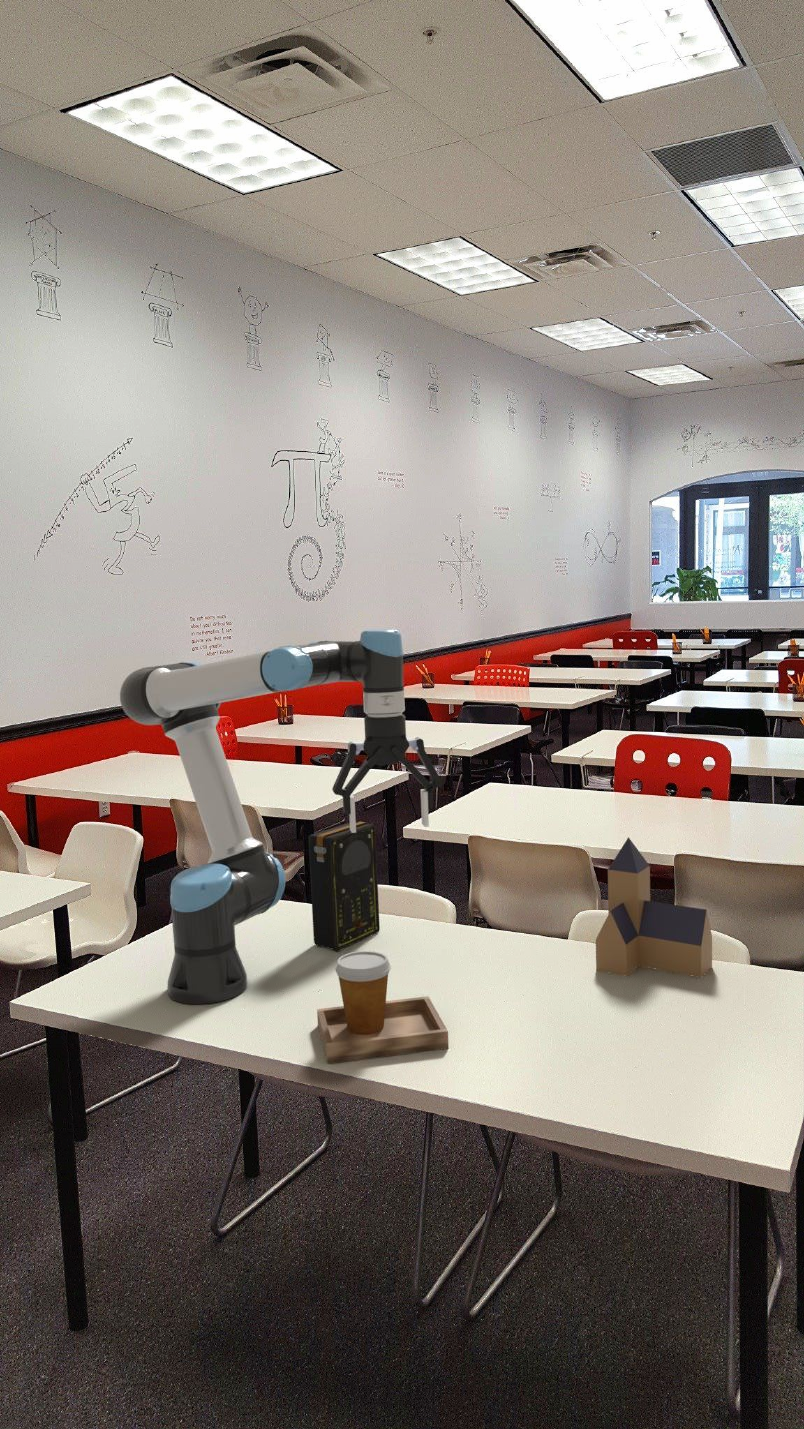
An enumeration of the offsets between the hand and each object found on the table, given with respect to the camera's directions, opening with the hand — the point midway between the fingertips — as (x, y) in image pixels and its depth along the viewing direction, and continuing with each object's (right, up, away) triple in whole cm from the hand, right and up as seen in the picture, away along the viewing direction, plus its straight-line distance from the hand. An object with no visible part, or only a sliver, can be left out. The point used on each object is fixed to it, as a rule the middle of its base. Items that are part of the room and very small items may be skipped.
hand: (389, 828), depth 186 cm
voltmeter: (-10, -29, +34) cm, 45 cm away
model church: (+52, -29, +11) cm, 60 cm away
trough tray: (-1, -34, -15) cm, 37 cm away
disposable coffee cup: (-4, -33, -13) cm, 36 cm away
